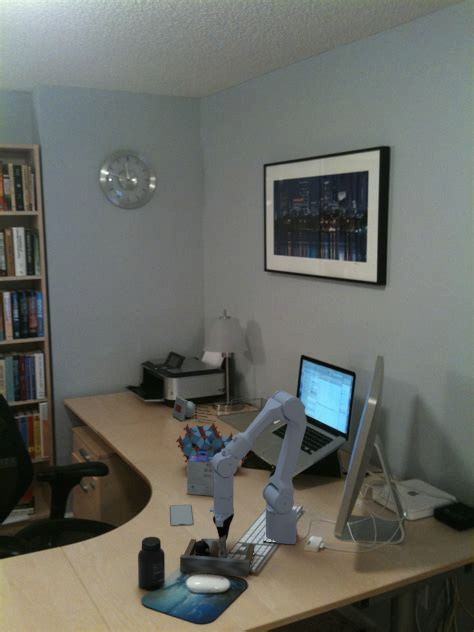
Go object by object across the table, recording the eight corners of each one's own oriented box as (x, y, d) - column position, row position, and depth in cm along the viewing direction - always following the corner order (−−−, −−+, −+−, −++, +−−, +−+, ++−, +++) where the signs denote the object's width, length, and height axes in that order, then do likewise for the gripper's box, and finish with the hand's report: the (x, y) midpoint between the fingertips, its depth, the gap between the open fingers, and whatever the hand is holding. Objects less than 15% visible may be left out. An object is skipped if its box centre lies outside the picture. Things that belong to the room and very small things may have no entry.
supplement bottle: (165, 577, 171) (165, 534, 170) (163, 591, 164) (163, 547, 163) (140, 577, 171) (139, 534, 169) (136, 591, 164) (136, 547, 163)
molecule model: (245, 440, 256) (192, 410, 250) (253, 452, 242) (196, 421, 236) (224, 475, 256) (170, 446, 250) (230, 489, 242) (173, 458, 236)
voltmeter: (166, 419, 312) (166, 399, 311) (178, 413, 322) (178, 394, 321) (215, 427, 301) (215, 406, 300) (226, 420, 311) (226, 400, 310)
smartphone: (191, 504, 216) (194, 524, 201) (191, 506, 216) (194, 526, 201) (169, 505, 215) (170, 525, 200) (169, 507, 215) (170, 527, 200)
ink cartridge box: (217, 490, 228) (218, 451, 226) (214, 496, 223) (214, 456, 221) (190, 488, 230) (190, 449, 228) (186, 494, 225) (186, 454, 223)
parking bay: (254, 552, 185) (254, 538, 184) (248, 577, 172) (248, 562, 171) (191, 547, 187) (191, 534, 187) (180, 571, 174) (180, 557, 174)
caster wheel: (202, 554, 188) (234, 555, 185) (186, 565, 178) (220, 566, 175) (200, 531, 189) (232, 531, 186) (185, 540, 178) (219, 540, 175)
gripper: (214, 483, 193) (214, 526, 195) (204, 504, 179) (204, 550, 181) (237, 485, 192) (237, 528, 194) (229, 505, 178) (229, 552, 180)
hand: (223, 539), depth 187 cm, fingers closed
